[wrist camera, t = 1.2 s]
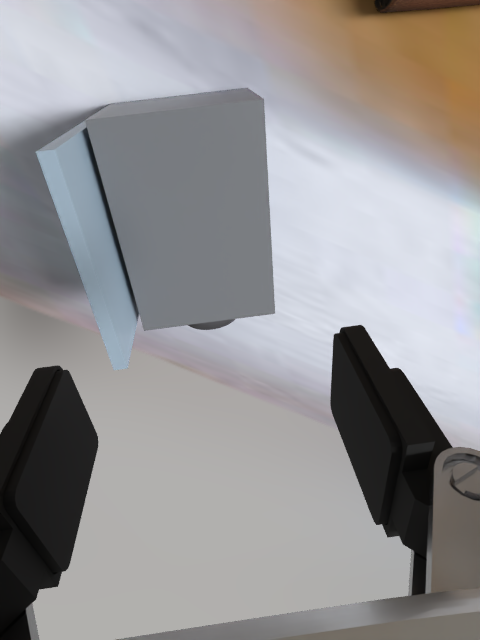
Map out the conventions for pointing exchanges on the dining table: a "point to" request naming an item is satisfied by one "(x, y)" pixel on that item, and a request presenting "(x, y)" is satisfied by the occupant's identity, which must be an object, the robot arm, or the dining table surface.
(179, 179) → the block
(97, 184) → the side door
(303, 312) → the dining table surface
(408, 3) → the sunglasses case
